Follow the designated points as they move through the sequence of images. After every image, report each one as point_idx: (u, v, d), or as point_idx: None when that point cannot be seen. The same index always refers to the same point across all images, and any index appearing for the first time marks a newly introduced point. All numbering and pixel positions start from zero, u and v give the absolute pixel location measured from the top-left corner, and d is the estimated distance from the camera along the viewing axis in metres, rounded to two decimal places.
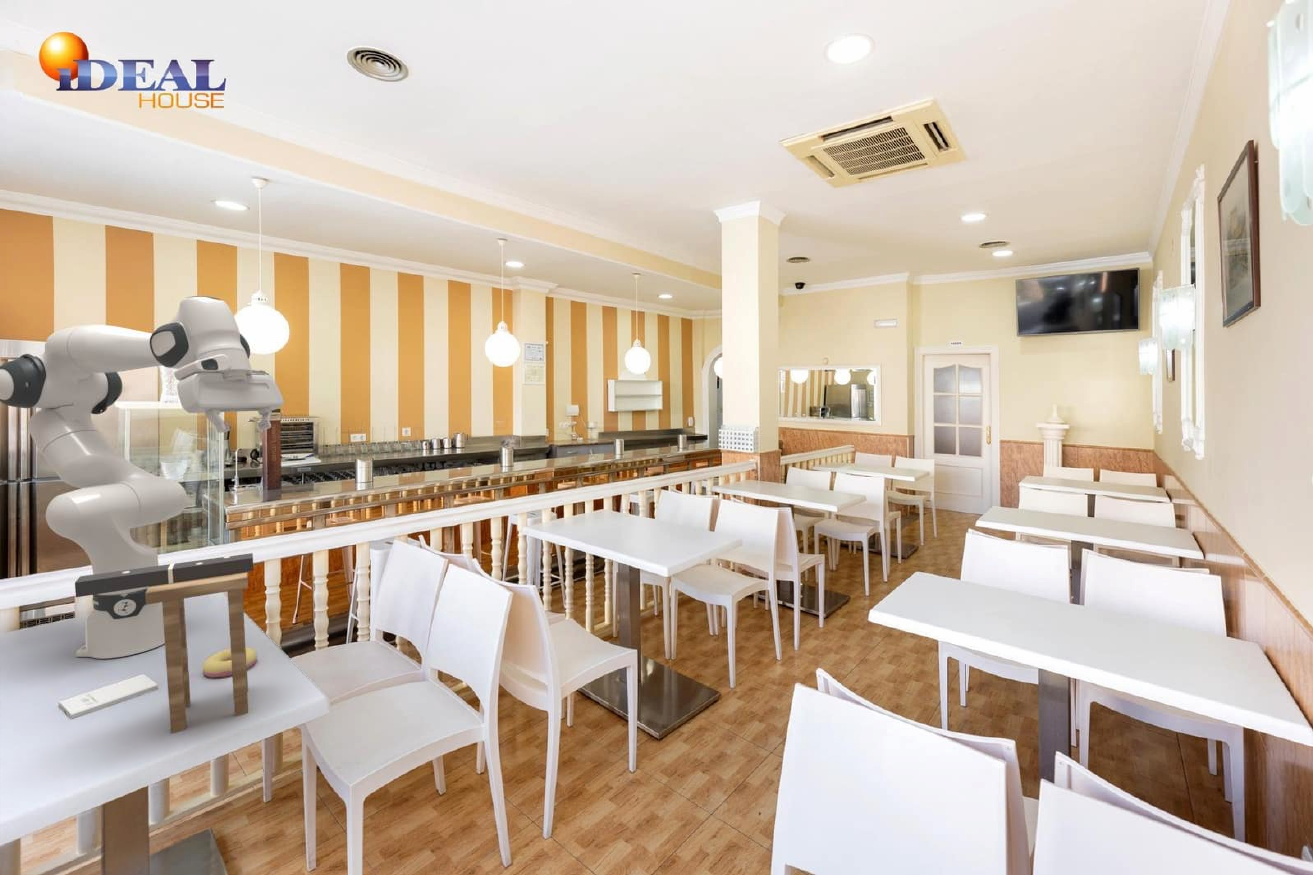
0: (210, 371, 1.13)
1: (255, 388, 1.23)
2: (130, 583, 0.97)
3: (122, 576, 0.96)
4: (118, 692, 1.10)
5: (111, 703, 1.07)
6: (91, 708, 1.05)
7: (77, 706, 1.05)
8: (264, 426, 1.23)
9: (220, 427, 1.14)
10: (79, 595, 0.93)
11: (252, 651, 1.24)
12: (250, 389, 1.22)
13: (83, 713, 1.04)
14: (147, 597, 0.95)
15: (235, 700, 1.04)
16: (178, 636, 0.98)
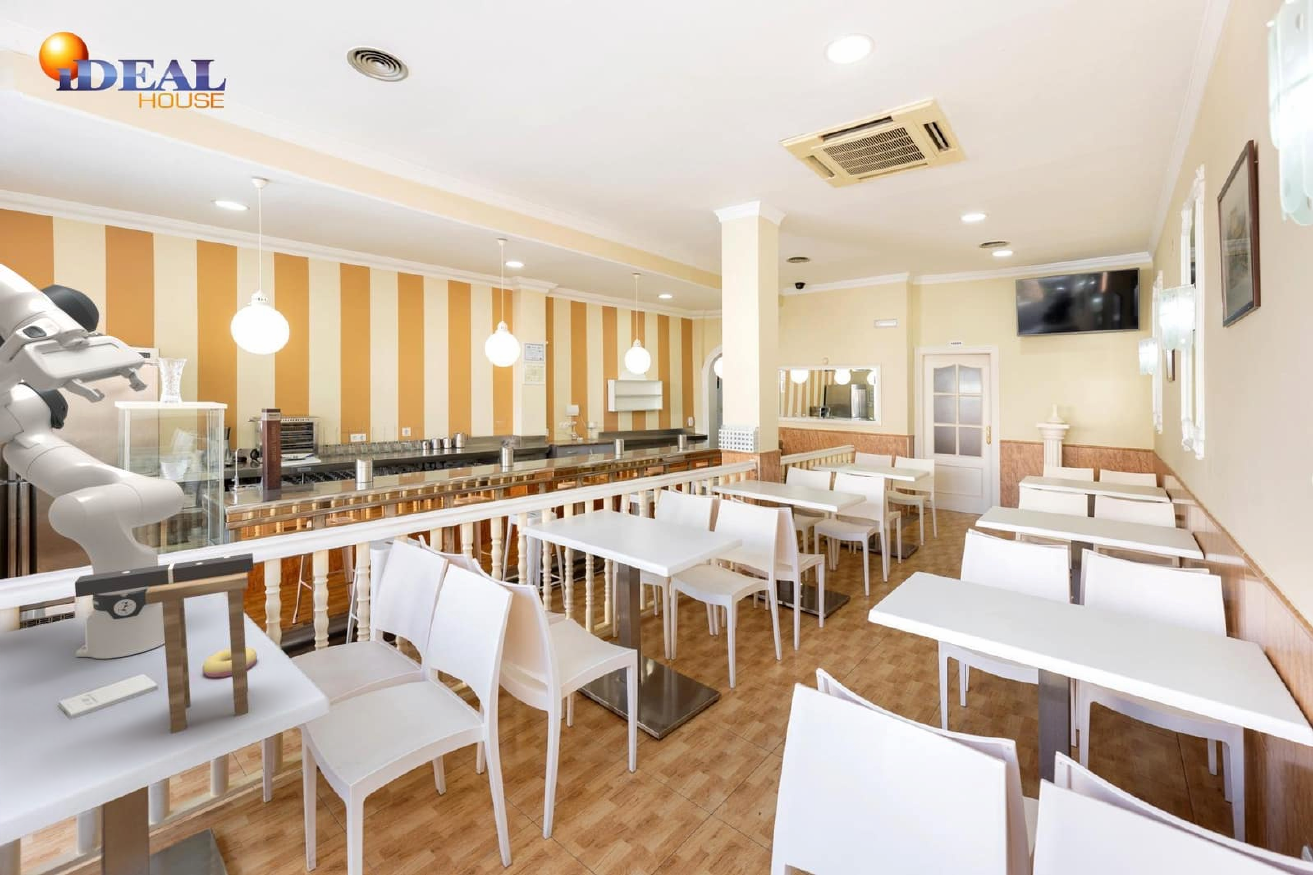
0: (40, 339, 0.96)
1: (103, 350, 1.07)
2: (130, 583, 0.97)
3: (122, 576, 0.96)
4: (118, 692, 1.10)
5: (111, 703, 1.07)
6: (91, 708, 1.05)
7: (77, 706, 1.05)
8: (139, 386, 1.09)
9: (92, 396, 1.00)
10: (79, 595, 0.93)
11: (252, 651, 1.24)
12: (98, 351, 1.05)
13: (83, 713, 1.04)
14: (147, 597, 0.95)
15: (235, 700, 1.04)
16: (178, 636, 0.98)
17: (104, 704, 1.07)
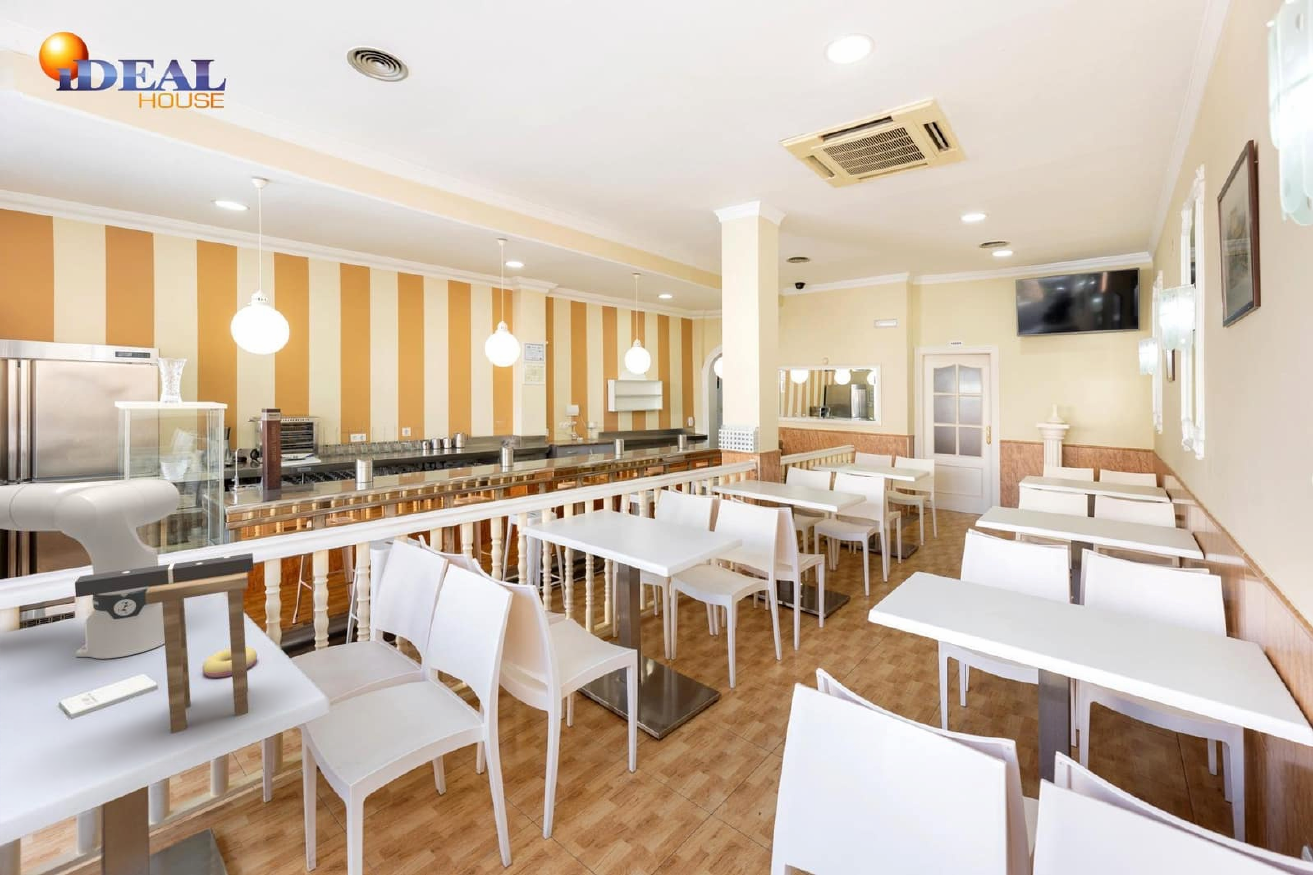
0: None
1: None
2: (130, 583, 0.97)
3: (122, 576, 0.96)
4: (118, 691, 1.10)
5: (111, 703, 1.07)
6: (91, 707, 1.05)
7: (77, 705, 1.05)
8: None
9: None
10: (79, 595, 0.93)
11: (252, 650, 1.24)
12: None
13: (83, 713, 1.04)
14: (147, 597, 0.95)
15: (235, 700, 1.04)
16: (178, 636, 0.98)
17: (104, 704, 1.07)
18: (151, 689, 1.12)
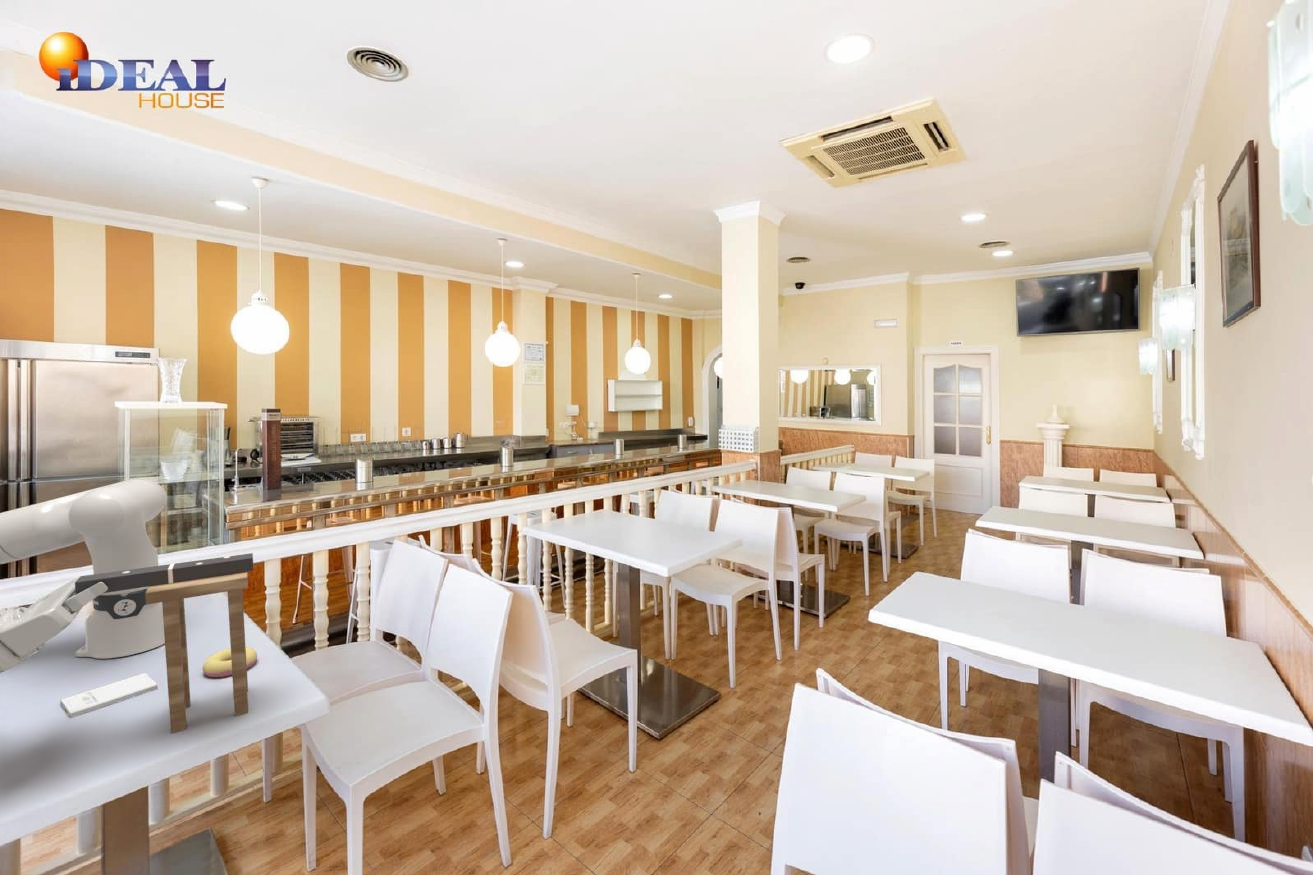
0: None
1: (45, 601, 0.95)
2: (130, 583, 0.97)
3: (122, 576, 0.96)
4: (118, 691, 1.10)
5: (110, 702, 1.08)
6: (90, 707, 1.05)
7: (77, 704, 1.06)
8: None
9: (97, 587, 0.93)
10: None
11: (253, 650, 1.24)
12: (44, 602, 0.94)
13: (82, 712, 1.04)
14: (147, 597, 0.95)
15: (235, 700, 1.04)
16: (178, 636, 0.98)
17: (103, 703, 1.07)
18: (151, 689, 1.13)
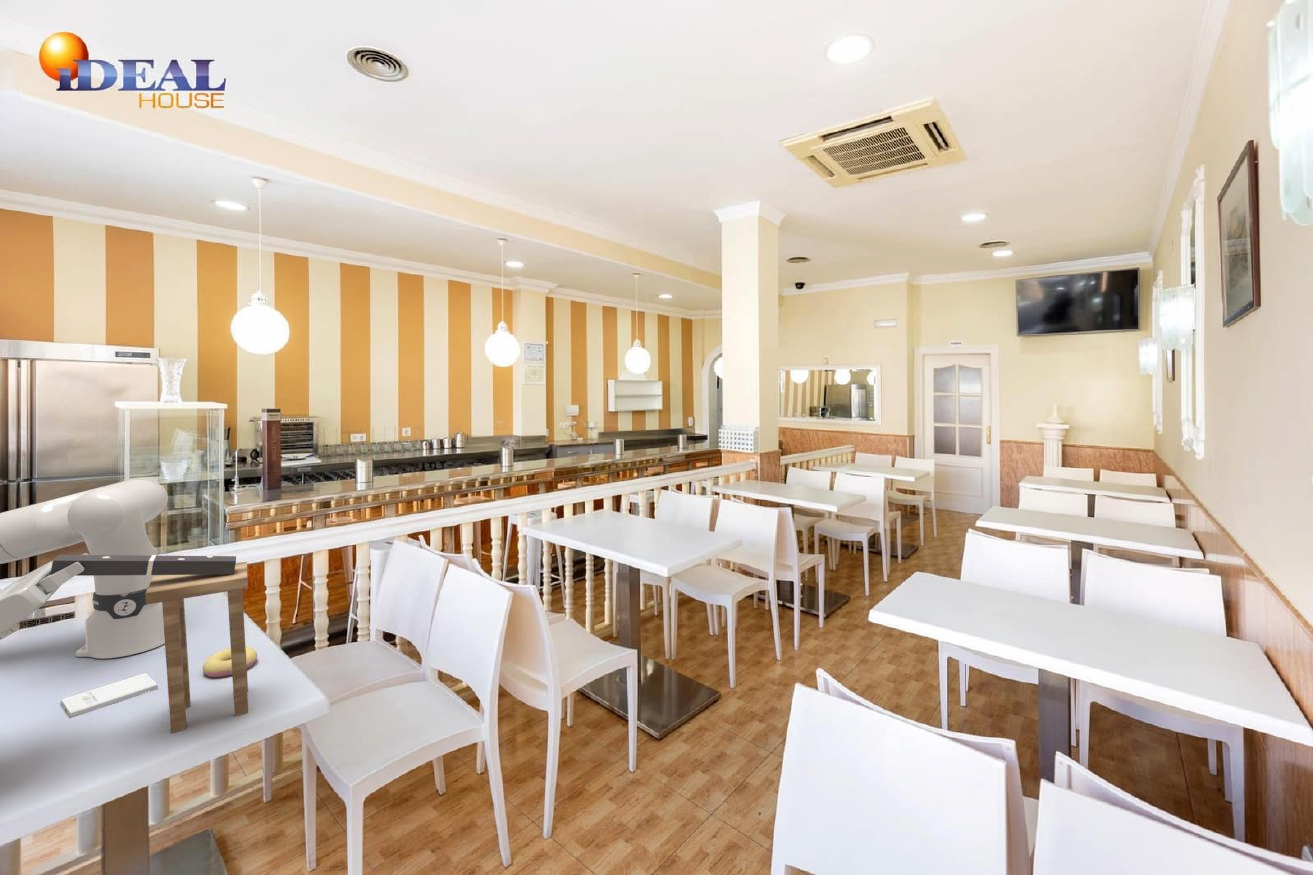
0: None
1: None
2: (108, 569, 0.95)
3: (102, 561, 0.94)
4: (119, 691, 1.10)
5: (110, 702, 1.08)
6: (90, 706, 1.05)
7: (78, 704, 1.06)
8: None
9: (73, 568, 0.91)
10: None
11: (253, 650, 1.24)
12: (19, 583, 0.92)
13: (82, 712, 1.05)
14: (147, 597, 0.95)
15: (235, 700, 1.04)
16: (178, 636, 0.98)
17: (103, 703, 1.07)
18: (151, 689, 1.13)
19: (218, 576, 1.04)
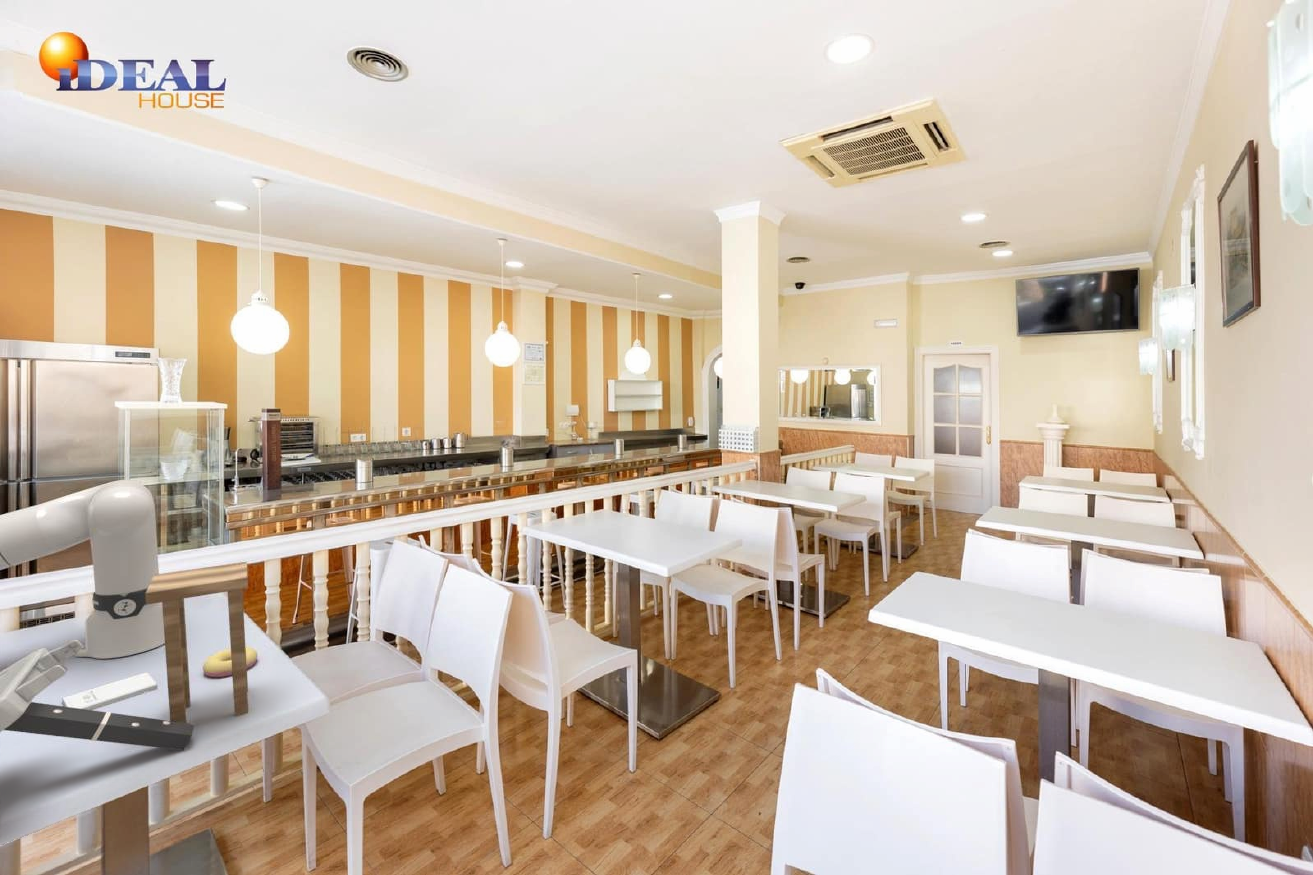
0: None
1: None
2: (53, 728, 0.85)
3: (51, 718, 0.85)
4: (119, 690, 1.11)
5: (110, 701, 1.08)
6: (90, 706, 1.06)
7: (78, 703, 1.06)
8: (72, 644, 0.89)
9: (53, 672, 0.82)
10: None
11: (253, 650, 1.24)
12: None
13: None
14: (147, 597, 0.95)
15: (235, 700, 1.04)
16: (178, 636, 0.98)
17: (103, 702, 1.07)
18: (151, 689, 1.13)
19: (218, 576, 1.04)
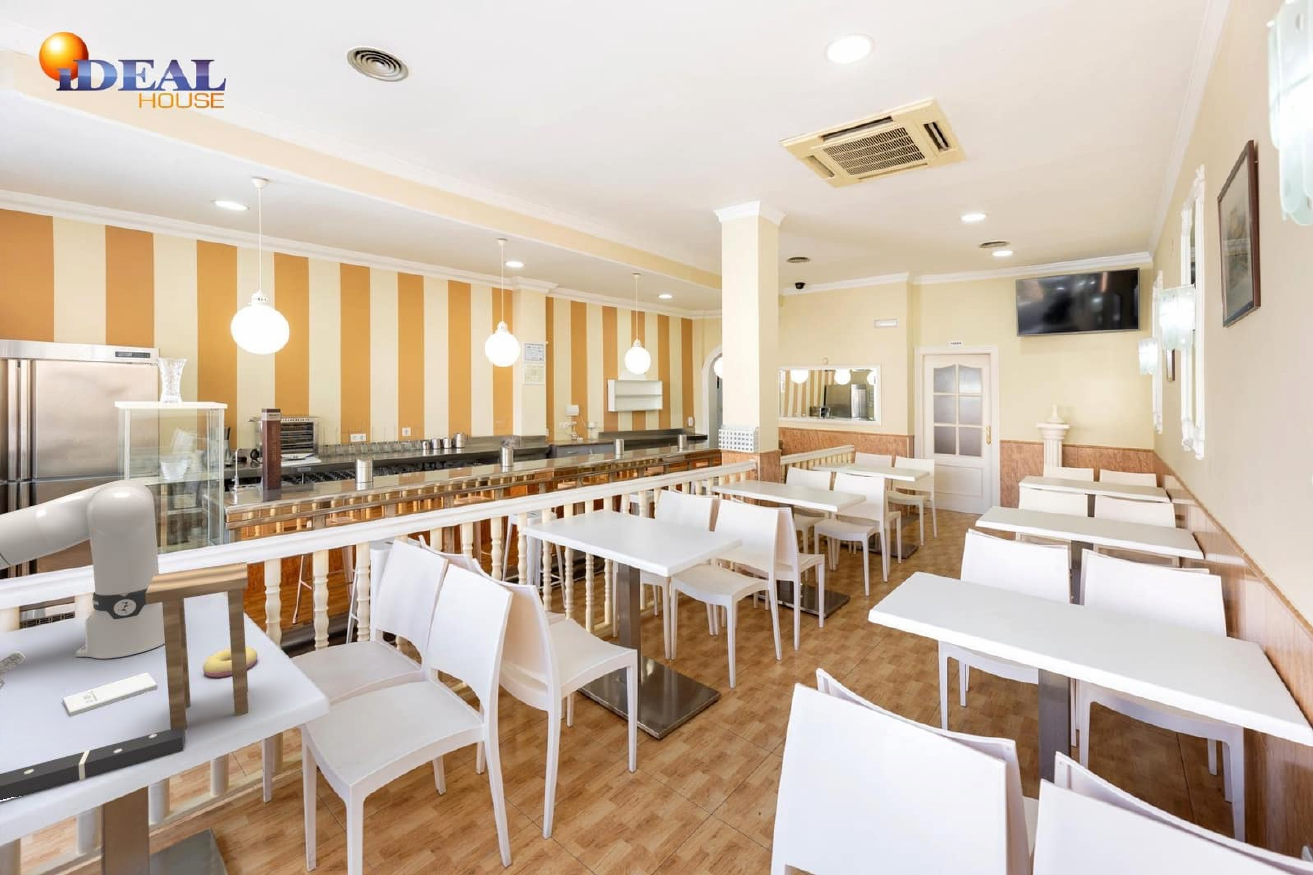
0: None
1: None
2: (32, 787, 0.84)
3: (22, 780, 0.83)
4: (119, 690, 1.11)
5: (110, 702, 1.08)
6: (90, 706, 1.06)
7: (78, 703, 1.06)
8: (13, 656, 0.85)
9: None
10: None
11: (253, 650, 1.24)
12: None
13: (82, 711, 1.05)
14: (147, 597, 0.95)
15: (235, 700, 1.04)
16: (178, 636, 0.98)
17: (103, 702, 1.07)
18: (151, 689, 1.13)
19: (218, 576, 1.04)
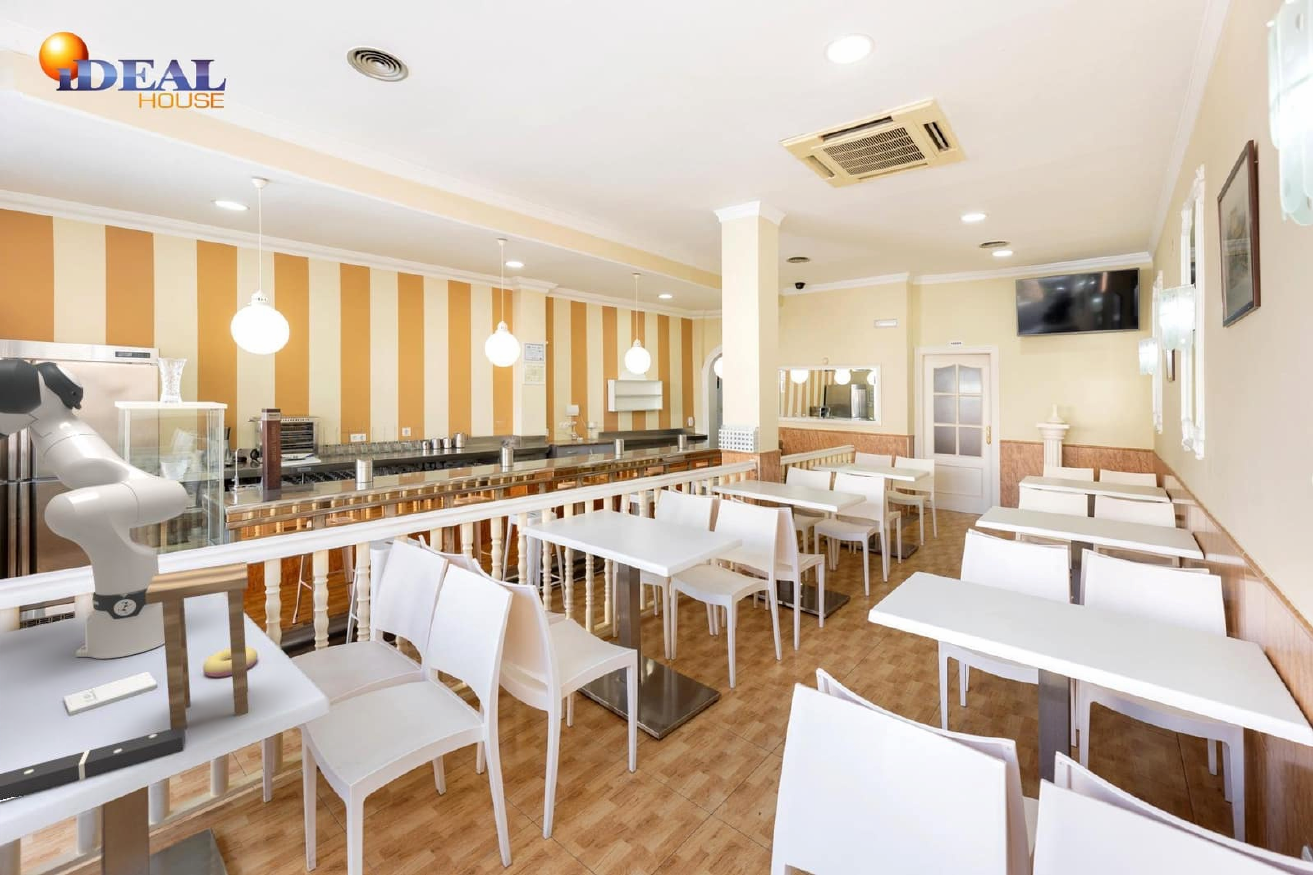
0: None
1: None
2: (32, 787, 0.84)
3: (22, 780, 0.83)
4: (119, 690, 1.11)
5: (110, 701, 1.08)
6: (90, 705, 1.06)
7: (78, 702, 1.06)
8: None
9: None
10: None
11: (253, 650, 1.25)
12: None
13: (81, 710, 1.05)
14: (147, 597, 0.95)
15: (235, 700, 1.04)
16: (178, 636, 0.98)
17: (103, 702, 1.07)
18: (151, 688, 1.13)
19: (218, 576, 1.04)
